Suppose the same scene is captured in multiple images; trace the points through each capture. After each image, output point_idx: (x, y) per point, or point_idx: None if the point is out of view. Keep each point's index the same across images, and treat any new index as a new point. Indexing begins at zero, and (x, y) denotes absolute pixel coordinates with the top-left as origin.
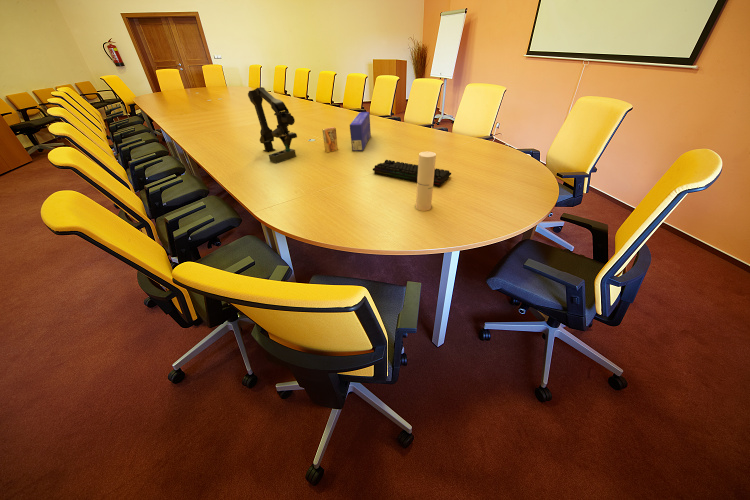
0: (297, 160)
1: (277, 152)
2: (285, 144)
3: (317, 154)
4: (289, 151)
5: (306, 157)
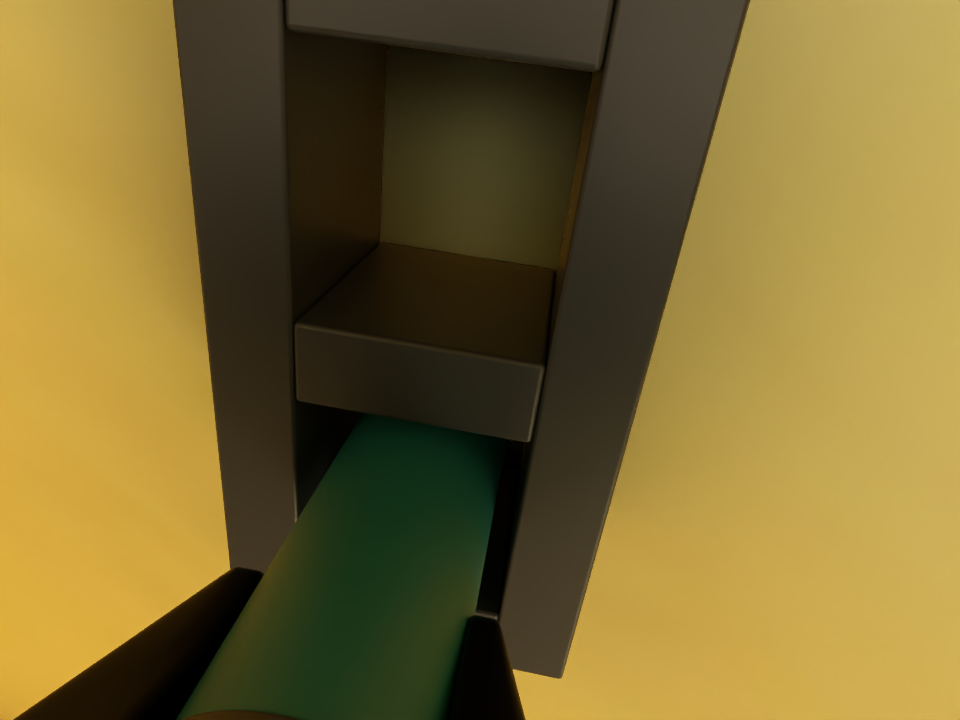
0: (8, 238)
1: (644, 84)
2: (249, 697)
3: (49, 659)
4: (227, 426)
5: (49, 482)
